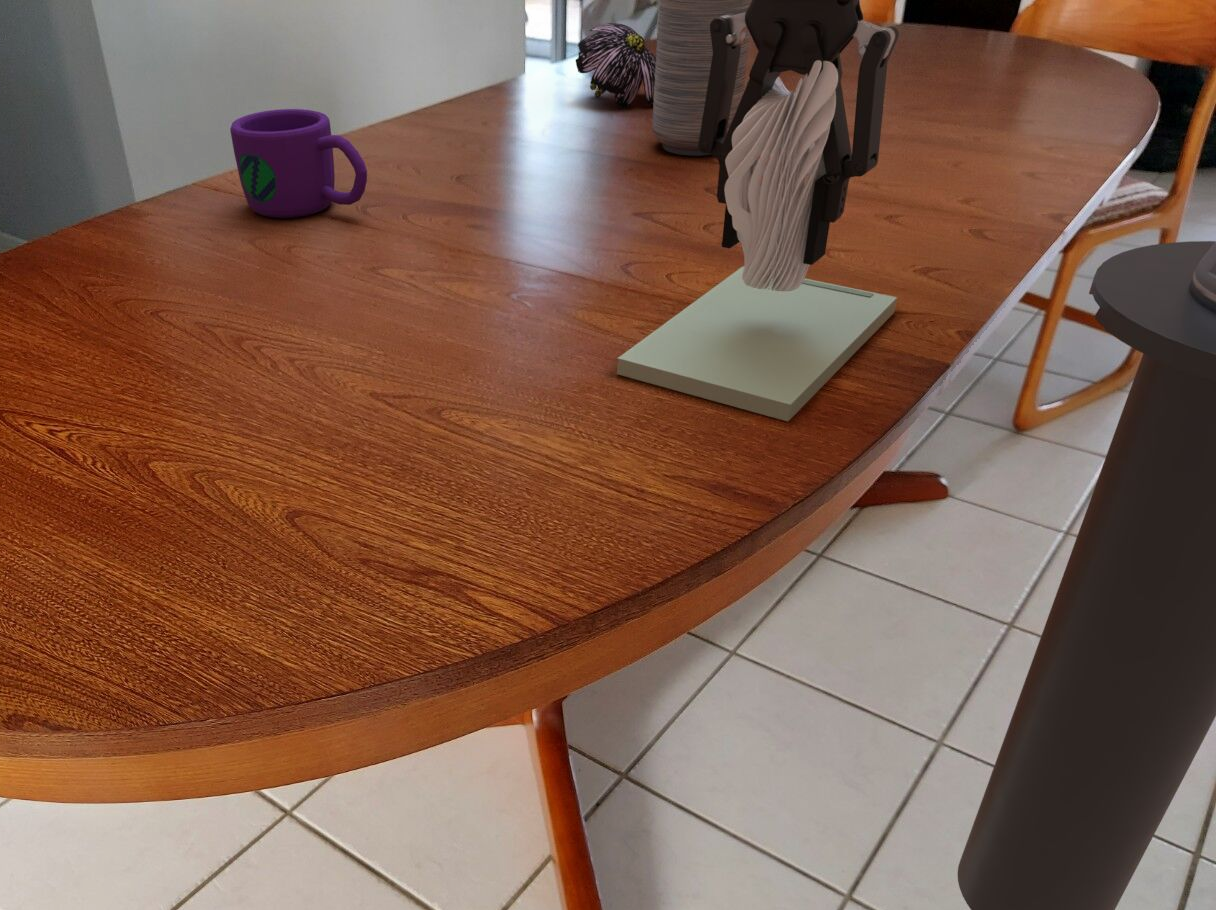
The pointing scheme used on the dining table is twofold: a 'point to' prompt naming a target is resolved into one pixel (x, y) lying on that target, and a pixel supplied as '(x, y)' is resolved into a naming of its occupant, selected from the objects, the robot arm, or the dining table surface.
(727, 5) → the vase
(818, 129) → the shell sculpture
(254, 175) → the mug
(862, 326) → the cutting board
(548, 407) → the dining table surface
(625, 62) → the decorative flower
